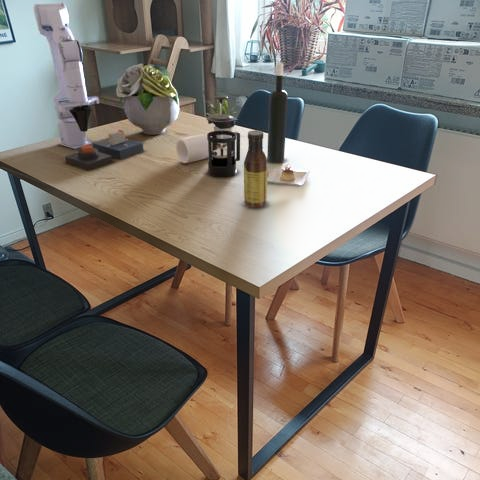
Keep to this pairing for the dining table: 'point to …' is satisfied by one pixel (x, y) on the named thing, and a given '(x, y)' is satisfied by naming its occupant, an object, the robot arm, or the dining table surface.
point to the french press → (222, 158)
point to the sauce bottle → (255, 171)
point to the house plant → (224, 111)
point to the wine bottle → (277, 119)
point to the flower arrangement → (148, 98)
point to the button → (87, 148)
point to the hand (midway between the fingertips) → (83, 130)
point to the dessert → (287, 176)
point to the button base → (88, 159)
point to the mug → (192, 148)
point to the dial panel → (119, 148)
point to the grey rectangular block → (116, 137)
